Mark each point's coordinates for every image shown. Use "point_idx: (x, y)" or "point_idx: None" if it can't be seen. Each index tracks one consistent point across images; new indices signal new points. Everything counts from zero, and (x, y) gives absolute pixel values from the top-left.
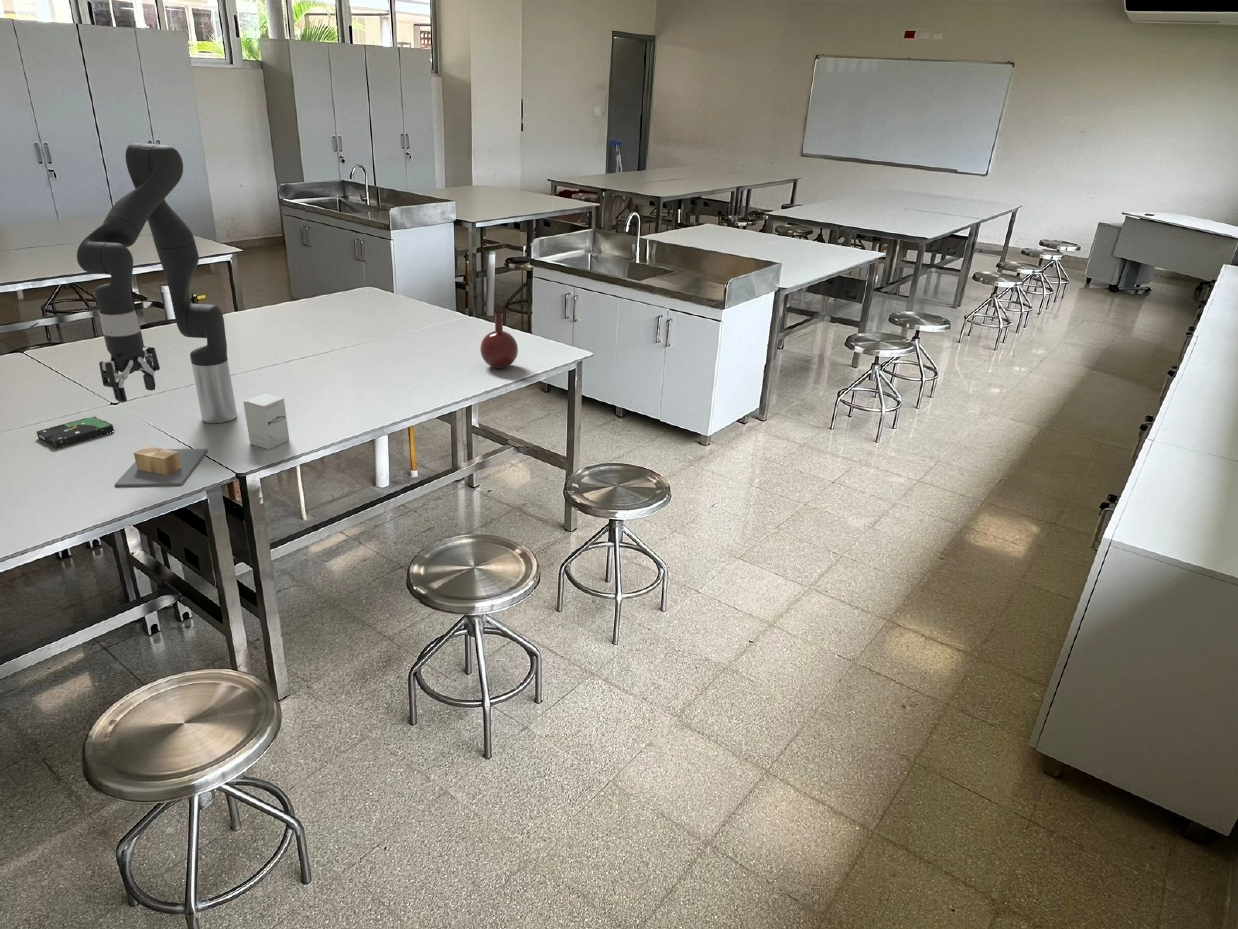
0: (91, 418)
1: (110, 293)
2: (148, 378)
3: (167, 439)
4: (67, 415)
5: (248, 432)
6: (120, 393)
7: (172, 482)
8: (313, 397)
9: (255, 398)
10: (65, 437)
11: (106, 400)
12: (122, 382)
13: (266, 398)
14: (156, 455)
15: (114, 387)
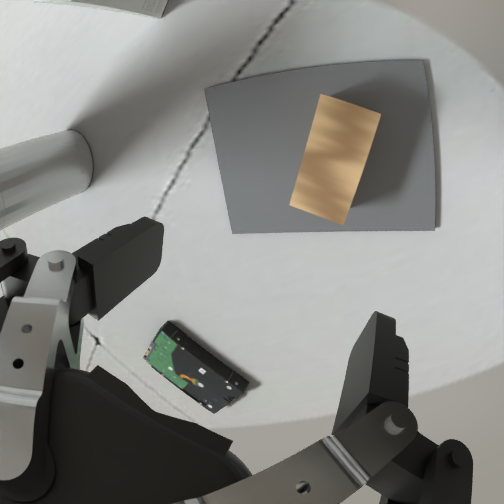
0: (150, 361)
1: None
2: (106, 274)
3: (170, 214)
4: (145, 384)
5: (141, 12)
6: (394, 374)
7: (422, 84)
8: (7, 63)
9: None
10: (225, 382)
11: (94, 350)
12: (371, 432)
13: None
14: (357, 149)
15: (455, 440)
